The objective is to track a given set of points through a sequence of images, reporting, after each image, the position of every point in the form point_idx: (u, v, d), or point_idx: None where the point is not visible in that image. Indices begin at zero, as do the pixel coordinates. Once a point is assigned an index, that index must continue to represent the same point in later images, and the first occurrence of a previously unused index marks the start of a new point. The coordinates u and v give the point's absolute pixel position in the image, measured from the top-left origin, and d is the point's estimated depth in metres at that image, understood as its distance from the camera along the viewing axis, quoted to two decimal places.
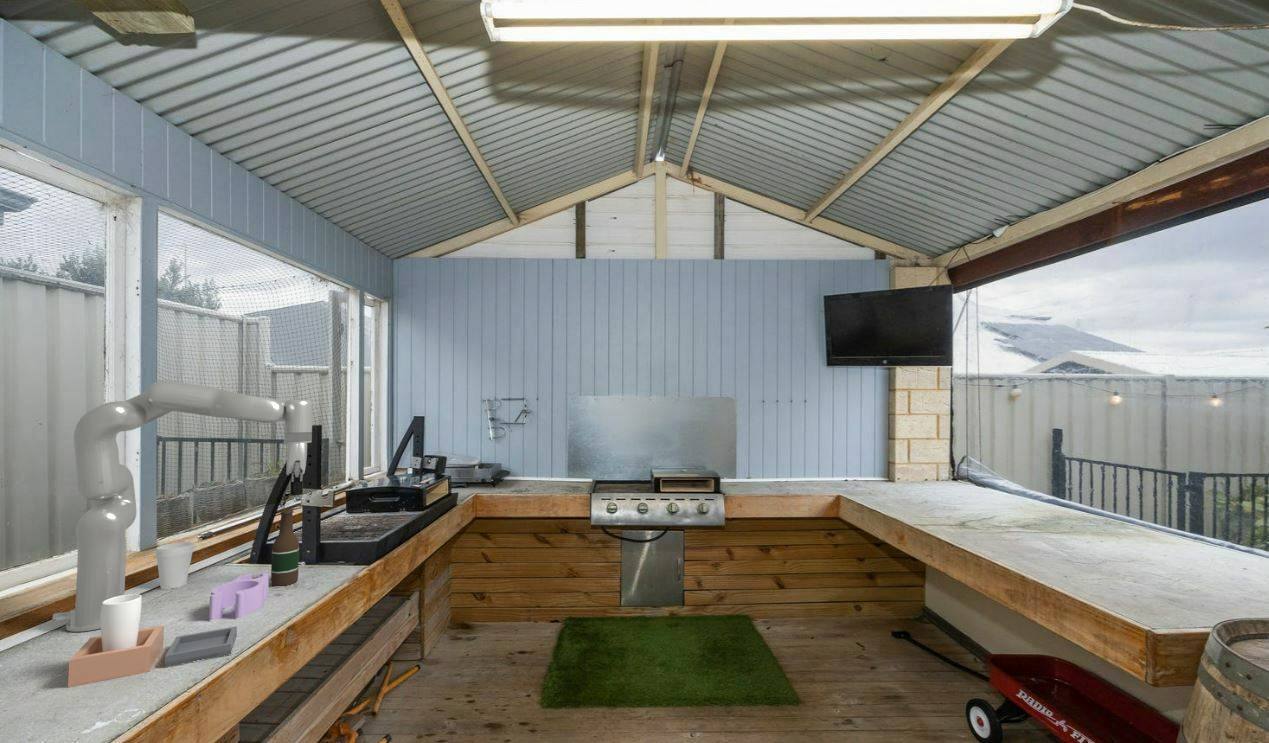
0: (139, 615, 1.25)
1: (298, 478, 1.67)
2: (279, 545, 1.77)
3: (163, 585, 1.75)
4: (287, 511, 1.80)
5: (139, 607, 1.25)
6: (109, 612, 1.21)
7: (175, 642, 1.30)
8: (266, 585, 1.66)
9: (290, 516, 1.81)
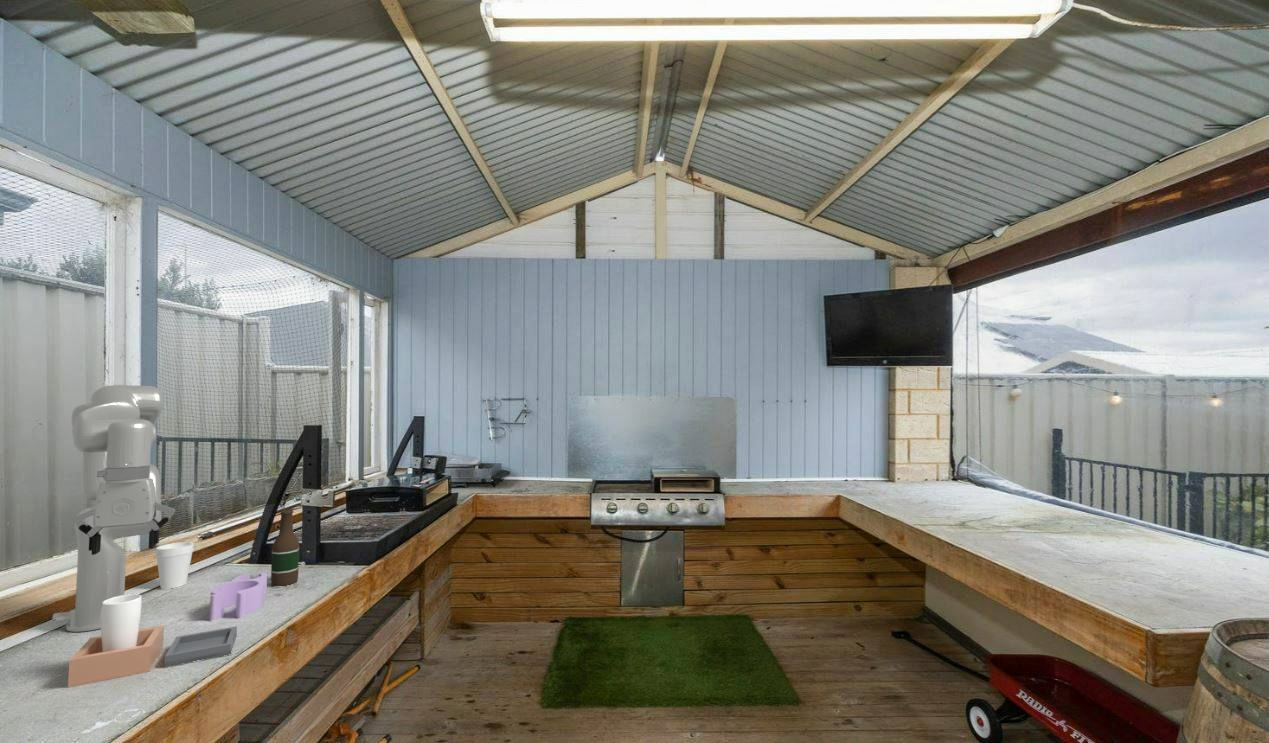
0: (139, 615, 1.25)
1: None
2: (279, 545, 1.77)
3: (163, 585, 1.75)
4: (287, 511, 1.80)
5: (139, 607, 1.25)
6: (109, 612, 1.21)
7: (175, 642, 1.30)
8: (265, 585, 1.66)
9: (290, 516, 1.81)
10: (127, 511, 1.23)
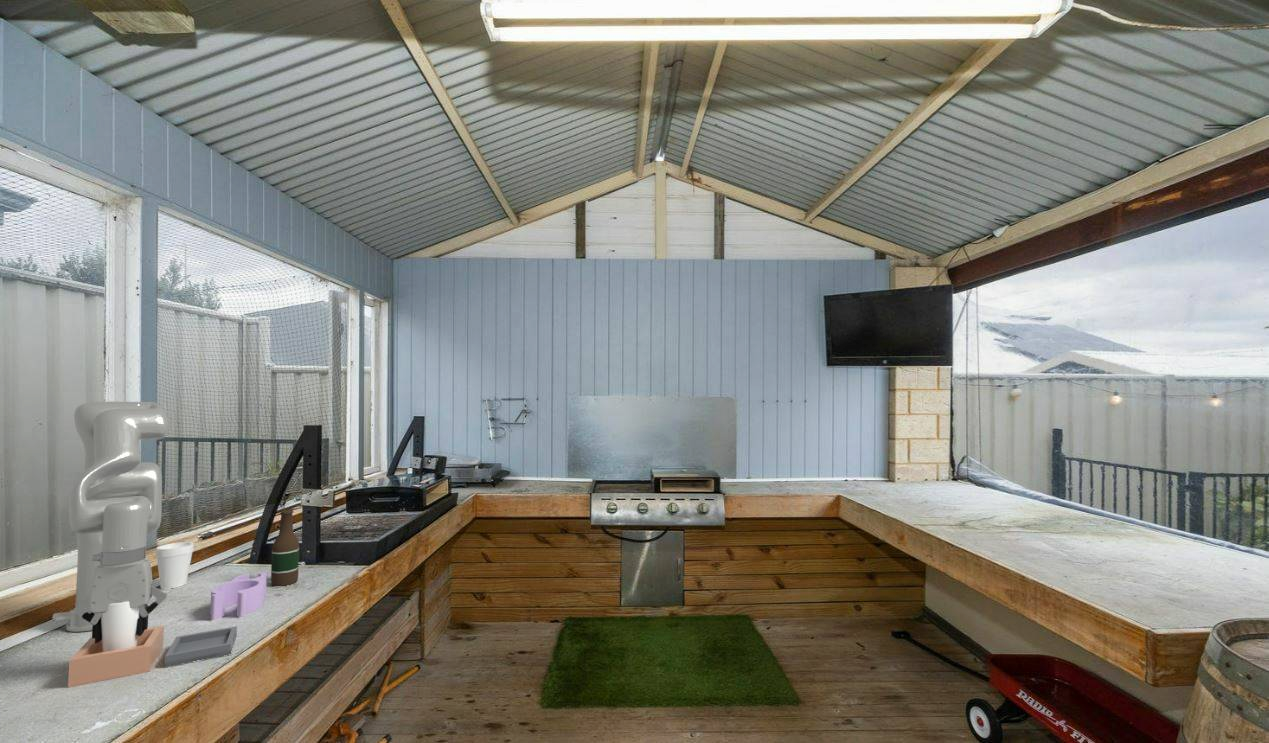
0: (139, 615, 1.25)
1: (154, 608, 1.27)
2: (279, 545, 1.77)
3: (163, 585, 1.75)
4: (287, 511, 1.80)
5: None
6: (109, 612, 1.21)
7: (175, 642, 1.30)
8: (264, 585, 1.67)
9: (290, 516, 1.81)
10: (123, 595, 1.22)
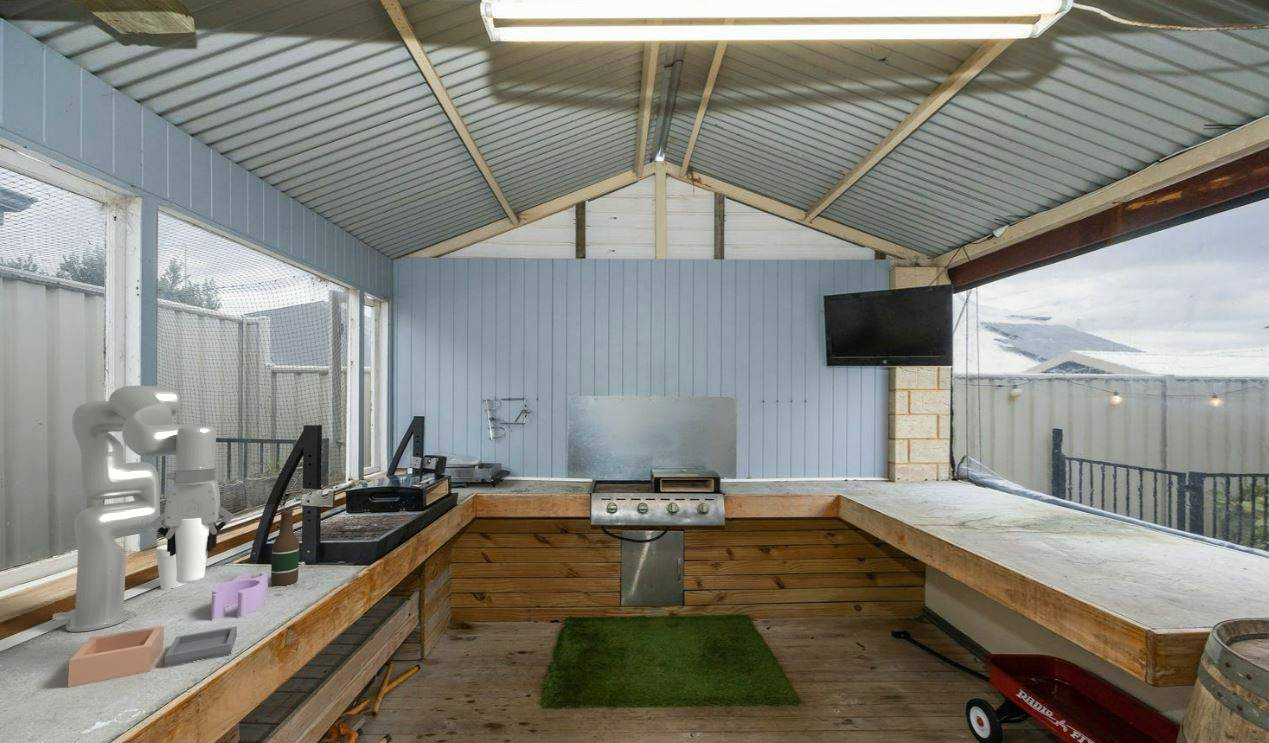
0: (209, 533, 1.32)
1: (222, 527, 1.34)
2: (279, 545, 1.77)
3: (163, 585, 1.75)
4: (287, 511, 1.80)
5: None
6: (183, 527, 1.28)
7: (175, 642, 1.30)
8: (266, 584, 1.67)
9: (290, 516, 1.81)
10: (195, 512, 1.29)
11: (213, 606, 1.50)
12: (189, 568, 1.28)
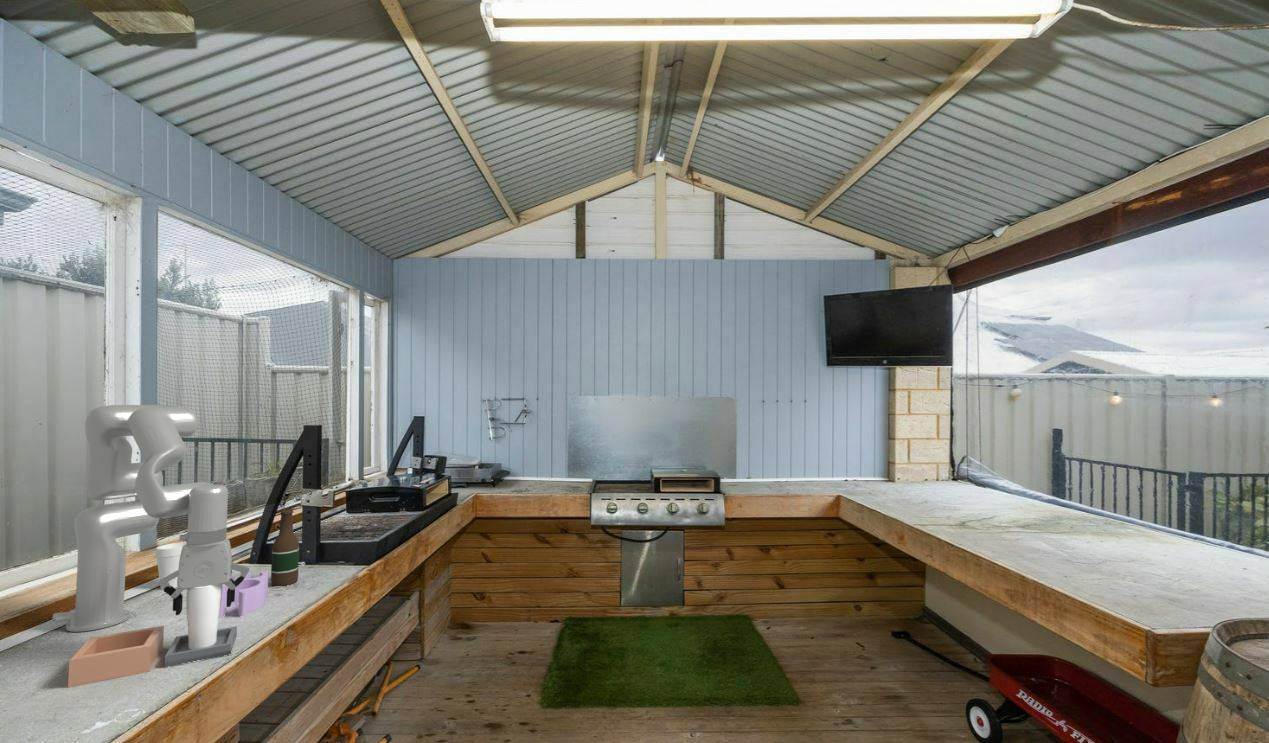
0: (220, 598, 1.33)
1: (240, 581, 1.36)
2: (279, 545, 1.77)
3: None
4: (287, 511, 1.80)
5: (221, 591, 1.33)
6: (195, 595, 1.29)
7: (175, 642, 1.30)
8: (266, 584, 1.67)
9: (290, 516, 1.81)
10: (208, 573, 1.30)
11: None
12: (201, 635, 1.29)
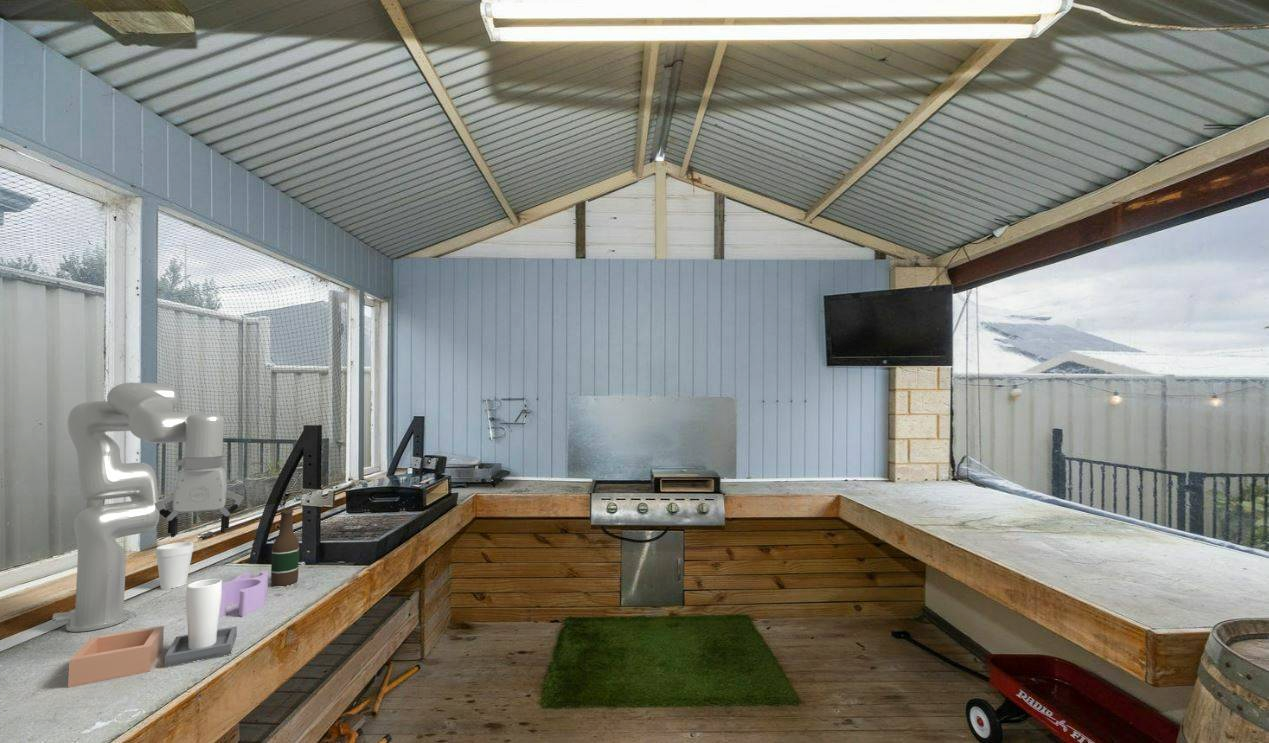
0: (220, 598, 1.33)
1: (235, 509, 1.39)
2: (279, 545, 1.77)
3: (163, 585, 1.75)
4: (287, 511, 1.80)
5: (220, 591, 1.33)
6: (194, 595, 1.28)
7: (175, 642, 1.30)
8: (266, 584, 1.68)
9: (290, 516, 1.81)
10: (203, 498, 1.33)
11: None
12: (201, 636, 1.29)
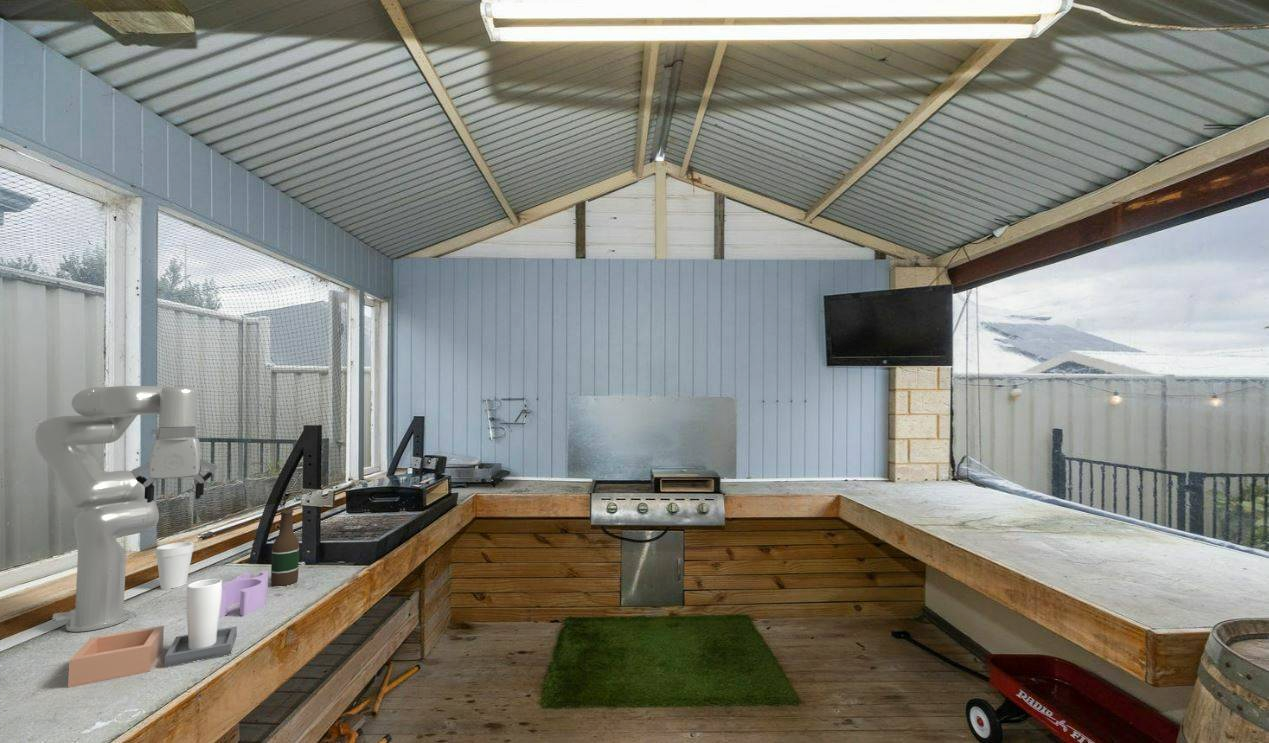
0: (220, 598, 1.33)
1: (209, 477, 1.46)
2: (279, 545, 1.77)
3: (163, 585, 1.75)
4: (287, 511, 1.80)
5: (220, 591, 1.33)
6: (195, 595, 1.28)
7: (175, 642, 1.30)
8: (266, 583, 1.68)
9: (290, 516, 1.81)
10: (177, 465, 1.41)
11: None
12: (201, 636, 1.29)
